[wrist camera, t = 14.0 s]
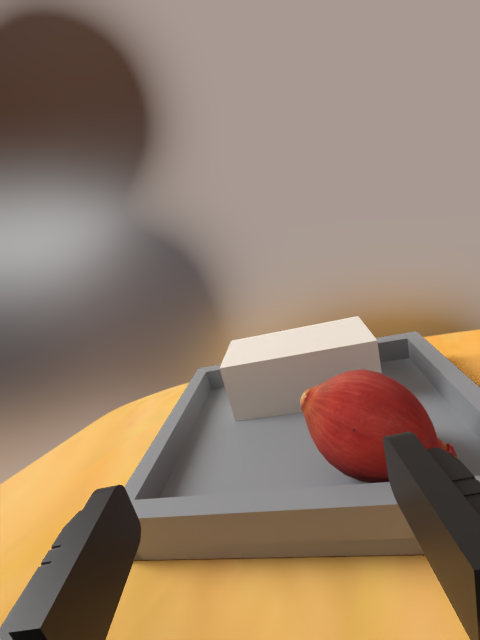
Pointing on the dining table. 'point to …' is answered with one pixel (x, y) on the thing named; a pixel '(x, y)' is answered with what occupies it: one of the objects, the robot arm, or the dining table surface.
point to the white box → (293, 365)
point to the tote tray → (285, 472)
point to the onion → (364, 421)
